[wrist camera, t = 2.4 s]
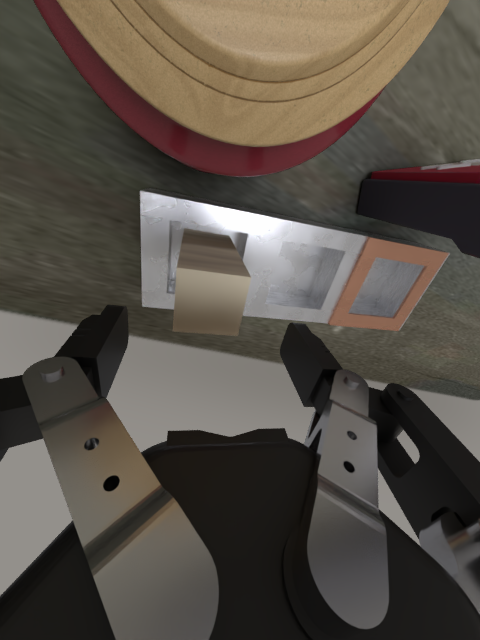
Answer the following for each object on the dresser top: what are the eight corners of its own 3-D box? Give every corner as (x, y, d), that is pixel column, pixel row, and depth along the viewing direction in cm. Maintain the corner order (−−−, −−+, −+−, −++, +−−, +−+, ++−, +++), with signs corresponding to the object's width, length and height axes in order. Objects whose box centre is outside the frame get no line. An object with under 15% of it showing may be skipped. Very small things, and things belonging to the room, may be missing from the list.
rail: (149, 187, 19) (139, 191, 15) (417, 242, 26) (453, 254, 22) (149, 287, 24) (141, 308, 20) (377, 312, 30) (401, 331, 27)
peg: (184, 228, 20) (176, 267, 12) (229, 235, 21) (251, 277, 13) (181, 271, 22) (172, 331, 14) (222, 276, 23) (237, 335, 15)
